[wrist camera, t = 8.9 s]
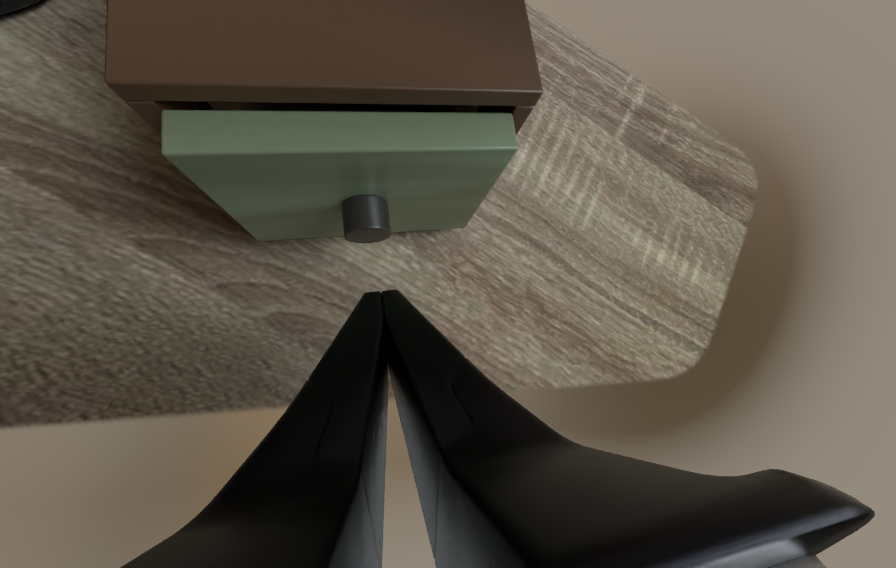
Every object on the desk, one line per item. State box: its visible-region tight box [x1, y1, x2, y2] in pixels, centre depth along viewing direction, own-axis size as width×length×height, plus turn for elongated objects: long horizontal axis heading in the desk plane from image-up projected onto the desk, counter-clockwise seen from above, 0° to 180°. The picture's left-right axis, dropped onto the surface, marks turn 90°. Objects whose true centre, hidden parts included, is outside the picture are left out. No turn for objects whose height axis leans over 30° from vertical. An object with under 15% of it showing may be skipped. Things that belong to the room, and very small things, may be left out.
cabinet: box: [105, 0, 543, 136], centre depth 13 cm, size 10×10×8 cm
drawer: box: [161, 102, 518, 243], centre depth 13 cm, size 10×9×7 cm
